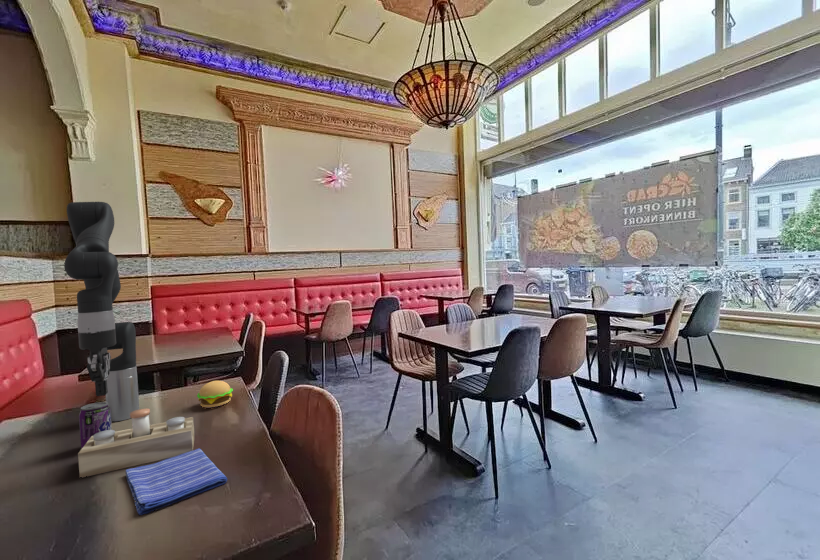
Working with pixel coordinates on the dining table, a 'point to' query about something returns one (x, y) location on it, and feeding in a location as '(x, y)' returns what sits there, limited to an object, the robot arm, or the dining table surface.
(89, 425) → the beverage can
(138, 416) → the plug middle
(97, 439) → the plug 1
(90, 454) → the beech block
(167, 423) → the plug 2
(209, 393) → the hamburger
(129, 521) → the dining table surface
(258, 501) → the dining table surface
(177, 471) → the dish towel
